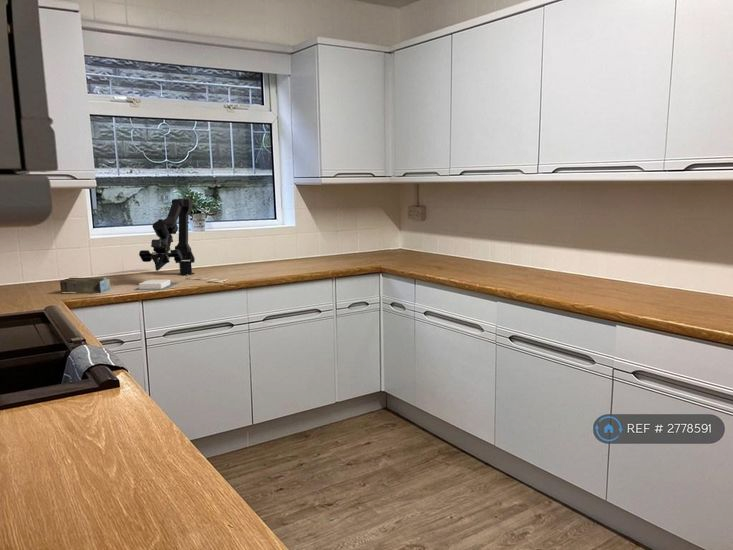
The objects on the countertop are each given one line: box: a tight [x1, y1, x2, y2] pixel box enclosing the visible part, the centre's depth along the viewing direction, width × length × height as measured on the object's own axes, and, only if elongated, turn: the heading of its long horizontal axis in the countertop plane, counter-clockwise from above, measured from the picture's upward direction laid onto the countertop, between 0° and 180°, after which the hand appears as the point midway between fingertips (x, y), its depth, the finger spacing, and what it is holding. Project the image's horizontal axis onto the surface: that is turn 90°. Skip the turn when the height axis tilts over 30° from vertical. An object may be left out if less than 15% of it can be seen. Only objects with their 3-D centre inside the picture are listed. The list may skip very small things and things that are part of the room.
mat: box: [134, 281, 181, 291], centre depth 270 cm, size 20×14×1 cm
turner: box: [185, 277, 229, 284], centre depth 284 cm, size 22×7×1 cm, turn 69°
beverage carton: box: [59, 277, 111, 294], centre depth 259 cm, size 8×19×7 cm, turn 83°
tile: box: [138, 279, 171, 291], centre depth 266 cm, size 2×10×11 cm
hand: (156, 270), depth 269 cm, fingers closed
